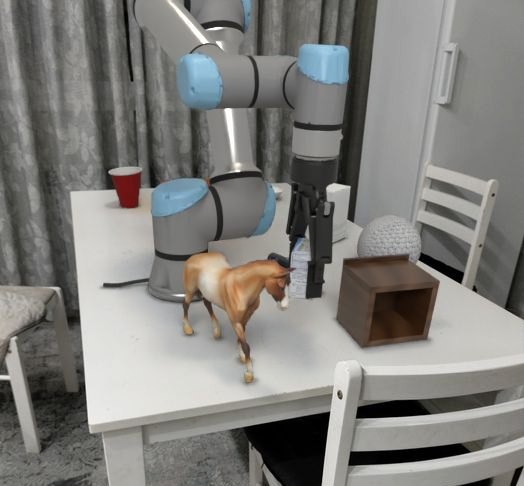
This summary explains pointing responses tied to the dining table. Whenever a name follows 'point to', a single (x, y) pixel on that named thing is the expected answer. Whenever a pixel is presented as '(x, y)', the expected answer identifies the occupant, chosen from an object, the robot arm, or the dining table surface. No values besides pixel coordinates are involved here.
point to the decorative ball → (389, 238)
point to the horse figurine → (233, 292)
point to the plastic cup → (127, 185)
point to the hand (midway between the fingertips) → (303, 286)
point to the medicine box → (299, 268)
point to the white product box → (338, 209)
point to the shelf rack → (386, 300)
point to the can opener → (280, 260)
